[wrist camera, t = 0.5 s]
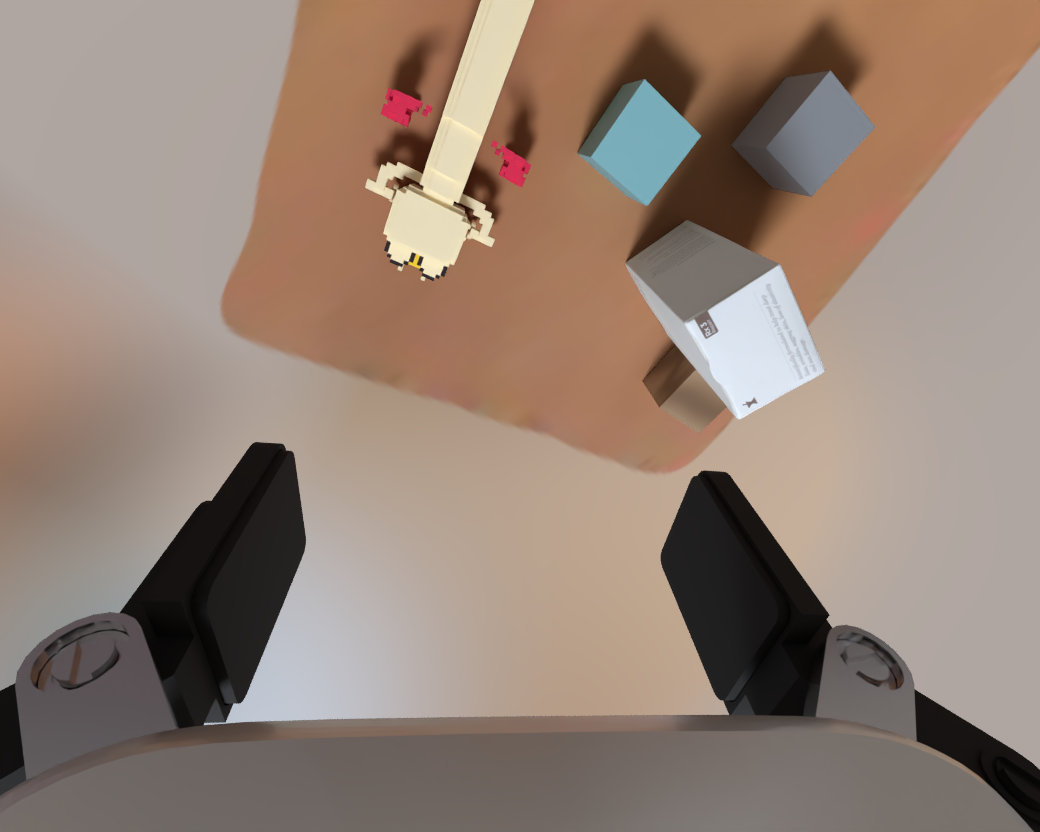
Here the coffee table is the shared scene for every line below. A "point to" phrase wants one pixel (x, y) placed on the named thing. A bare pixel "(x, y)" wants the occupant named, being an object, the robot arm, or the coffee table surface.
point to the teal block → (639, 141)
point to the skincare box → (728, 315)
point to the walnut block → (683, 391)
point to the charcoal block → (803, 133)
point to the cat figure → (453, 149)
